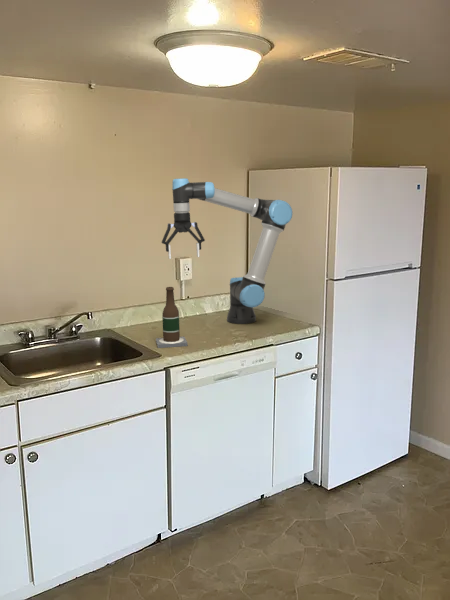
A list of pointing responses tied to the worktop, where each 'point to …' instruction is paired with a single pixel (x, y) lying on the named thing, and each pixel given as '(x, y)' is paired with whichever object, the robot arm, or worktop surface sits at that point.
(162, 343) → the grey soap dish
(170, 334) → the beer bottle
